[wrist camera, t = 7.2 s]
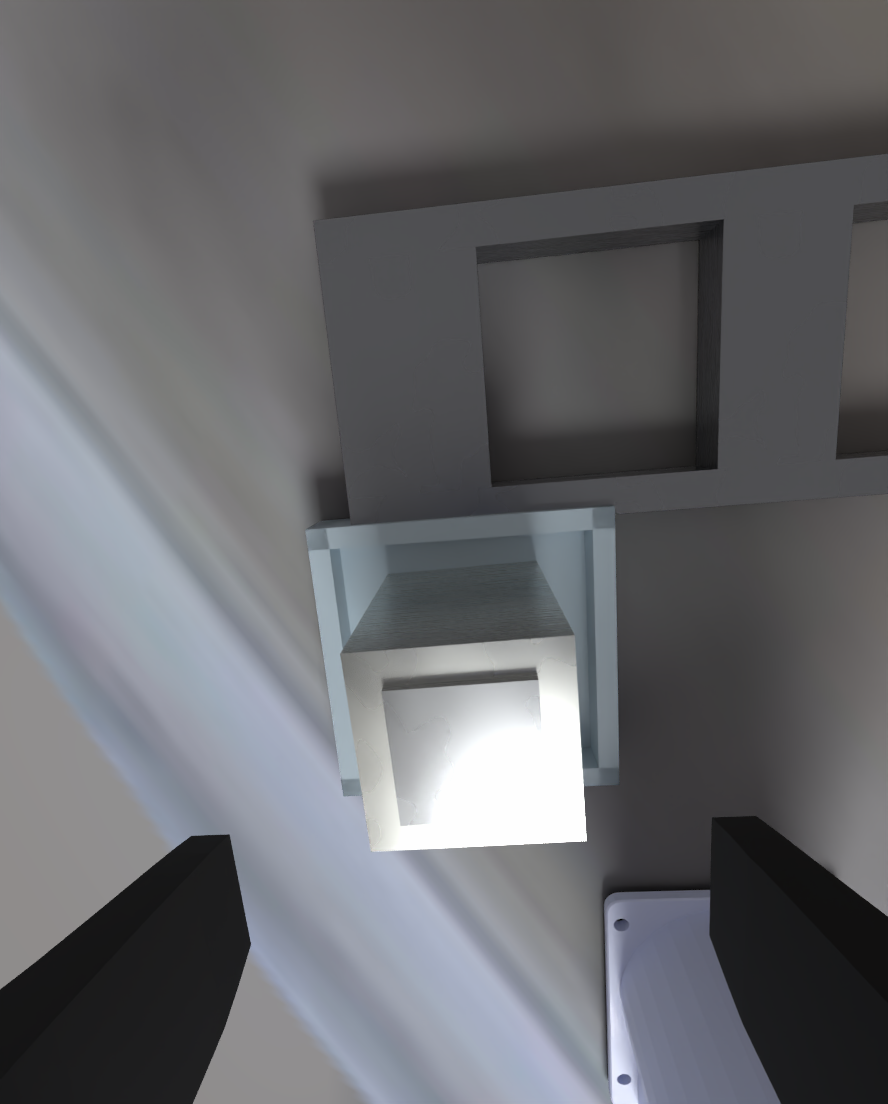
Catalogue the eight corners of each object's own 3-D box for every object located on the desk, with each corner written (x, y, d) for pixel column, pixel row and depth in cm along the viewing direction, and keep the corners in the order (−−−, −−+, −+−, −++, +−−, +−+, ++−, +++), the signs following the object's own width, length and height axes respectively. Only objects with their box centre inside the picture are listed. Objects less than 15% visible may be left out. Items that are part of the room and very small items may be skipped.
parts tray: (606, 753, 18) (619, 785, 16) (354, 765, 18) (343, 796, 17) (600, 498, 16) (614, 506, 14) (321, 520, 16) (305, 529, 15)
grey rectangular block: (546, 698, 17) (588, 848, 11) (405, 708, 17) (369, 859, 11) (536, 560, 16) (577, 639, 10) (387, 574, 16) (337, 657, 10)
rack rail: (1293, 454, 15) (1377, 456, 13) (361, 525, 16) (352, 533, 15) (1377, 120, 13) (1485, 83, 12) (328, 240, 15) (313, 220, 13)
